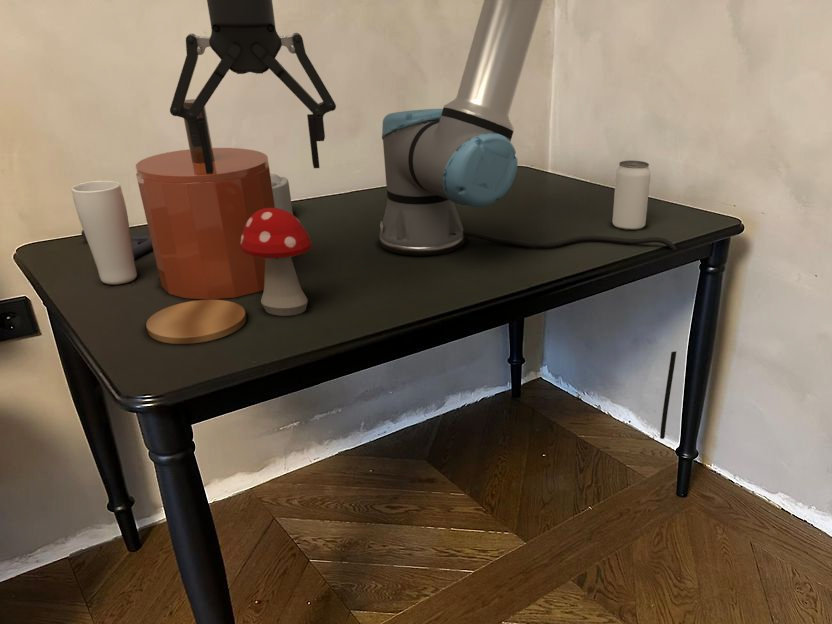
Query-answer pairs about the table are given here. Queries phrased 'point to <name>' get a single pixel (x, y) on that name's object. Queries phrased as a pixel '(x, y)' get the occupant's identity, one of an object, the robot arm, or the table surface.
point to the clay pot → (205, 217)
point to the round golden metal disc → (196, 321)
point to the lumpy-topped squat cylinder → (281, 193)
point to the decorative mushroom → (277, 257)
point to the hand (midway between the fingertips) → (264, 169)
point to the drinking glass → (106, 229)
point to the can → (631, 195)
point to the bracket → (137, 244)
